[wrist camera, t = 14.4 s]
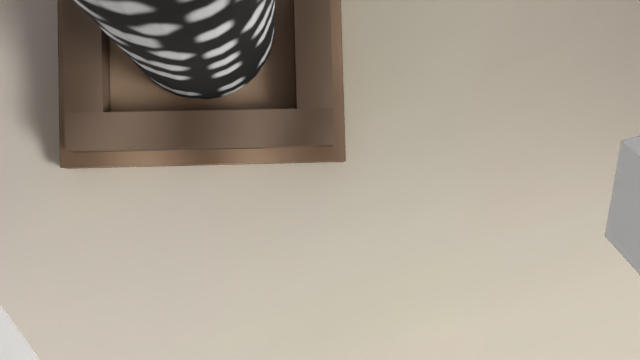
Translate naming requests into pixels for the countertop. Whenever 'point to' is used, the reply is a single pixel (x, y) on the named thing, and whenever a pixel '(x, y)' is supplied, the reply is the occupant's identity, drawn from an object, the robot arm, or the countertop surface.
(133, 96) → the walnut board
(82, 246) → the countertop surface
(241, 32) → the white-spotted black cylinder
